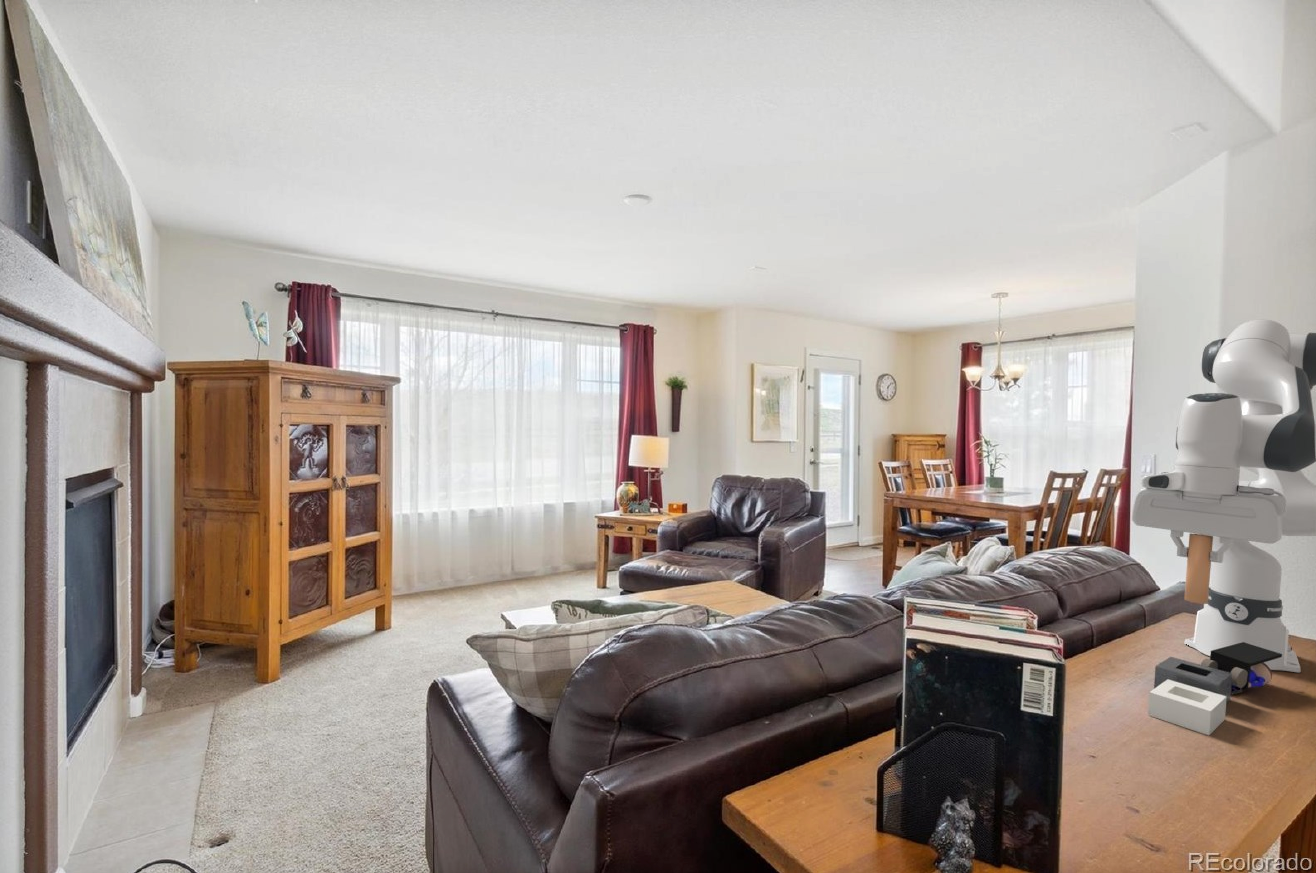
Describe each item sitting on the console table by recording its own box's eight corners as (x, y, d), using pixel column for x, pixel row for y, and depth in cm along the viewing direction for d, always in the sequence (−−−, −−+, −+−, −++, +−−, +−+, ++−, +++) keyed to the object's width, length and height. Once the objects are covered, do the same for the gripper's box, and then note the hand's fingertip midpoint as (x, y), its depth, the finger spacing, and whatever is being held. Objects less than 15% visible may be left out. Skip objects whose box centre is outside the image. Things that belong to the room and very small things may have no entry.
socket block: (1166, 701, 112) (1167, 679, 112) (1224, 719, 106) (1226, 696, 105) (1147, 715, 106) (1149, 692, 106) (1208, 735, 100) (1210, 711, 99)
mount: (1168, 681, 121) (1170, 656, 121) (1230, 700, 114) (1232, 673, 113) (1153, 692, 115) (1155, 666, 115) (1217, 712, 108) (1219, 684, 108)
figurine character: (1241, 708, 114) (1283, 688, 120) (1241, 668, 113) (1284, 649, 119) (1196, 692, 120) (1239, 674, 126) (1197, 654, 119) (1239, 637, 125)
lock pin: (1187, 598, 114) (1192, 533, 113) (1209, 602, 111) (1215, 536, 111) (1181, 599, 112) (1187, 534, 112) (1205, 604, 109) (1210, 537, 109)
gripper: (1290, 489, 105) (1284, 570, 105) (1142, 476, 121) (1137, 547, 121) (1282, 490, 101) (1276, 574, 101) (1131, 477, 117) (1126, 549, 118)
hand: (1199, 559), depth 111 cm, fingers closed on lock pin, 3 cm apart
